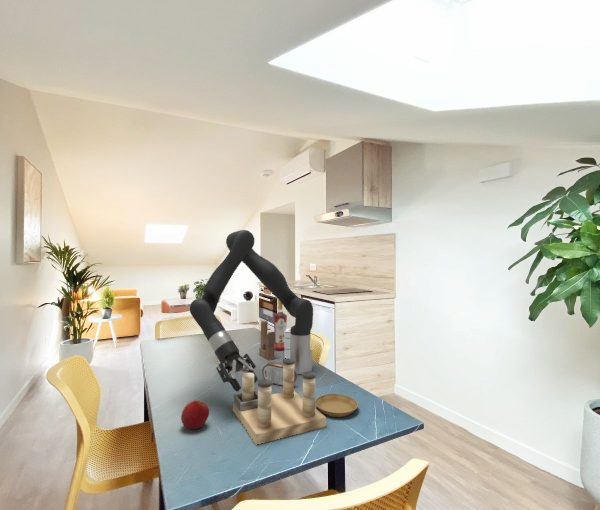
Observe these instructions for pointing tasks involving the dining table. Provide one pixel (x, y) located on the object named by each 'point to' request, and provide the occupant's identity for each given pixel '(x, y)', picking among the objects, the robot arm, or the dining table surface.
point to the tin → (275, 373)
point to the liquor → (279, 327)
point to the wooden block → (267, 342)
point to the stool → (280, 408)
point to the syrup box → (287, 343)
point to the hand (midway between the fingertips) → (247, 385)
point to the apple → (195, 414)
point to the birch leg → (247, 387)
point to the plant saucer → (336, 405)
